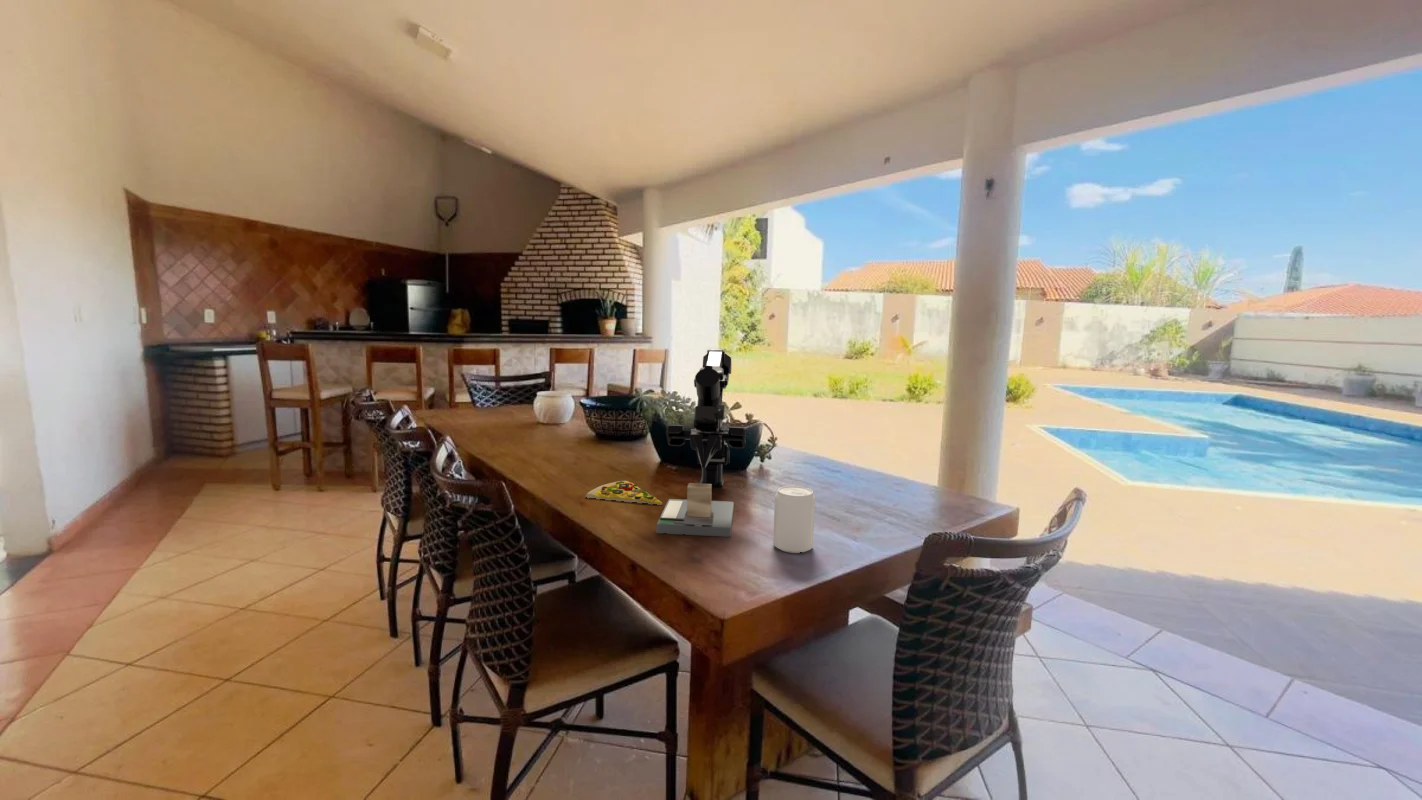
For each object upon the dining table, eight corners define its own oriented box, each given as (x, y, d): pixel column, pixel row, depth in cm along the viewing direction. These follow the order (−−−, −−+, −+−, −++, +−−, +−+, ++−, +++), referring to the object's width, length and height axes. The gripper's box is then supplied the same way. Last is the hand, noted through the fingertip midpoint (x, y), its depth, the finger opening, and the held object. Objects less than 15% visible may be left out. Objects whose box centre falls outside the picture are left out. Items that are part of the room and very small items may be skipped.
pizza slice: (623, 486, 161) (623, 475, 161) (681, 500, 149) (681, 489, 149) (581, 499, 148) (581, 487, 148) (640, 516, 137) (640, 504, 136)
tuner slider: (661, 515, 128) (662, 480, 127) (713, 518, 127) (714, 482, 126) (657, 523, 123) (658, 487, 122) (711, 526, 122) (712, 489, 121)
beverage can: (784, 536, 123) (786, 482, 122) (819, 545, 119) (822, 489, 117) (765, 548, 117) (767, 491, 115) (801, 558, 112) (804, 499, 111)
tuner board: (668, 506, 142) (669, 497, 141) (733, 509, 140) (733, 500, 140) (656, 533, 124) (656, 522, 124) (730, 536, 123) (730, 526, 122)
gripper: (667, 391, 136) (659, 447, 126) (746, 393, 134) (744, 450, 125) (671, 418, 144) (664, 472, 135) (746, 420, 143) (743, 475, 134)
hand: (703, 467), depth 132 cm, fingers closed
